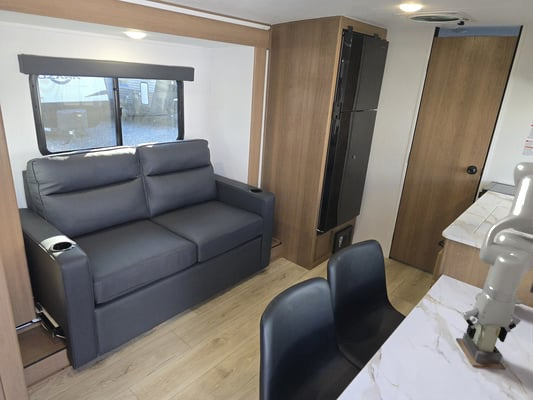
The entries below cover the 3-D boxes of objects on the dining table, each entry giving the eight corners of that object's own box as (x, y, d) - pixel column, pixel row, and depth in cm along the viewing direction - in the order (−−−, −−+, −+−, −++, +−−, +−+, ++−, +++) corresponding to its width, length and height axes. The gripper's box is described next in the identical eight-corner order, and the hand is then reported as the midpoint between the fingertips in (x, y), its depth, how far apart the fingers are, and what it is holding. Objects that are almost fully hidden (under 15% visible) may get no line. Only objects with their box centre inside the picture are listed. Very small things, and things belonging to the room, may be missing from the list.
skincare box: (490, 360, 113) (502, 329, 109) (476, 357, 114) (487, 326, 110) (482, 346, 119) (492, 316, 115) (469, 343, 120) (478, 314, 116)
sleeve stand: (484, 342, 122) (488, 332, 121) (504, 369, 111) (508, 359, 109) (455, 339, 122) (458, 329, 121) (472, 366, 111) (476, 355, 110)
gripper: (521, 288, 112) (505, 332, 118) (466, 283, 113) (452, 327, 118) (536, 303, 105) (518, 348, 111) (477, 297, 105) (463, 343, 111)
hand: (484, 337), depth 114 cm, fingers open, 9 cm apart
